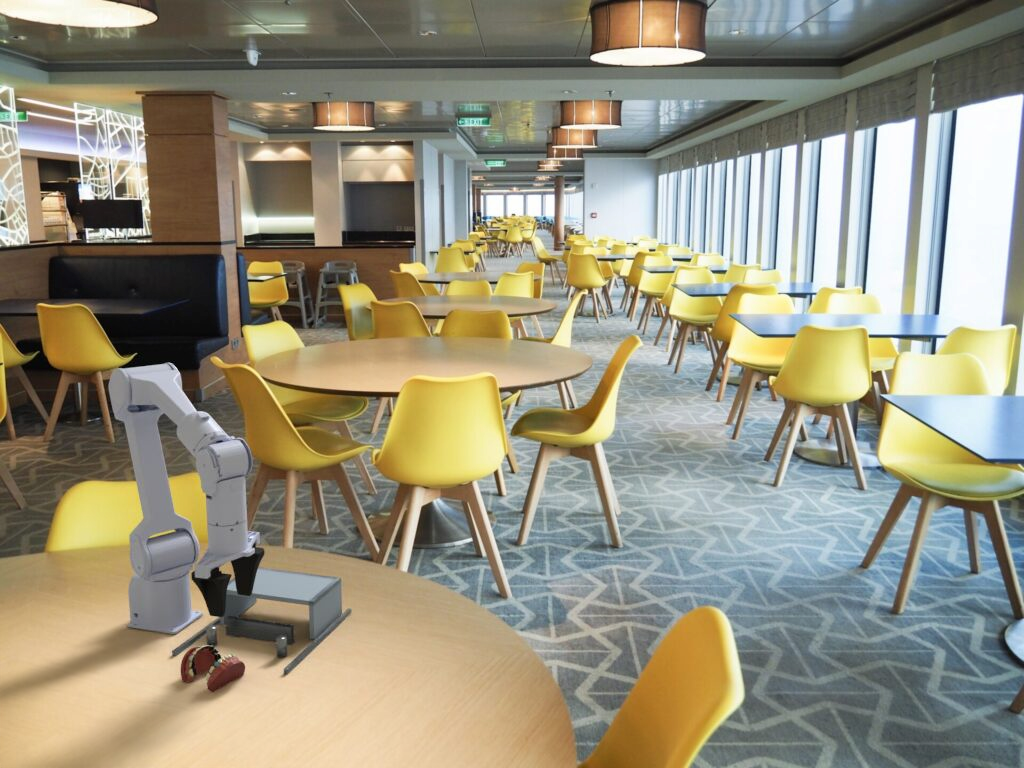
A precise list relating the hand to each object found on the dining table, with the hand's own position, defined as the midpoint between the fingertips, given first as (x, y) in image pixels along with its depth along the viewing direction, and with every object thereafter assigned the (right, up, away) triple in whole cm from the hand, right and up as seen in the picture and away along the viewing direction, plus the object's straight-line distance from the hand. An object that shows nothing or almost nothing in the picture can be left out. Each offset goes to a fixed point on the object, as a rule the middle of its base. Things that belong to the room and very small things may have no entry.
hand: (231, 604), depth 133 cm
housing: (+3, -7, +16) cm, 18 cm away
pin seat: (+2, -8, +12) cm, 14 cm away
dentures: (-2, -11, -2) cm, 11 cm away
